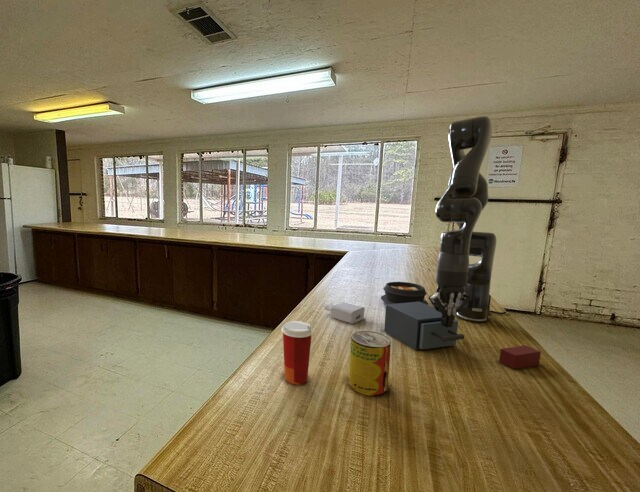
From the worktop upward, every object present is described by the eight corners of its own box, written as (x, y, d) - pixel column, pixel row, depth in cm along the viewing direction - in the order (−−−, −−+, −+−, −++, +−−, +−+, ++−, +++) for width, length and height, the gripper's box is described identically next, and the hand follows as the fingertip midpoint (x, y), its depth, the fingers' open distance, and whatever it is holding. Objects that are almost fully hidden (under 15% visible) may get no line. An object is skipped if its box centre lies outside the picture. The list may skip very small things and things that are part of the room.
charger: (330, 308, 133) (364, 318, 122) (317, 313, 127) (351, 324, 116) (331, 297, 133) (364, 306, 121) (317, 302, 127) (351, 312, 115)
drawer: (470, 352, 93) (473, 327, 92) (435, 357, 90) (437, 331, 89) (422, 328, 111) (423, 306, 110) (391, 331, 108) (392, 309, 107)
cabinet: (452, 345, 100) (455, 315, 98) (415, 350, 96) (418, 319, 95) (417, 327, 114) (419, 301, 112) (384, 331, 110) (385, 304, 109)
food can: (369, 400, 72) (372, 350, 70) (340, 380, 80) (342, 335, 78) (396, 389, 76) (399, 342, 74) (366, 371, 84) (369, 328, 82)
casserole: (424, 317, 123) (426, 296, 122) (373, 308, 134) (375, 288, 132) (431, 301, 143) (432, 282, 142) (386, 294, 154) (388, 277, 153)
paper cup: (313, 373, 83) (314, 322, 81) (309, 389, 76) (310, 334, 74) (284, 368, 86) (284, 318, 84) (277, 383, 79) (277, 329, 77)
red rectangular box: (523, 358, 91) (525, 345, 91) (539, 365, 88) (541, 351, 87) (499, 362, 89) (500, 348, 89) (513, 369, 85) (515, 355, 85)
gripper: (444, 272, 85) (438, 333, 88) (483, 269, 89) (476, 329, 91) (422, 266, 93) (418, 323, 95) (459, 264, 96) (454, 319, 98)
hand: (446, 326), depth 93 cm, fingers closed
